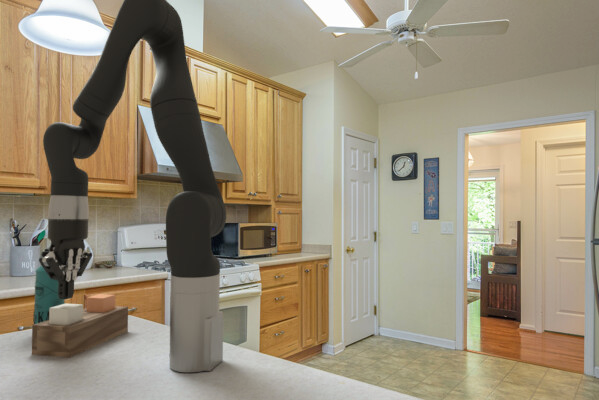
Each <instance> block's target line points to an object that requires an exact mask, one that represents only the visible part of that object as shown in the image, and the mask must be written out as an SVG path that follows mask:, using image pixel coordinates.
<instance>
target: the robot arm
mask: <svg viewBox="0 0 599 400" xmlns="http://www.w3.org/2000/svg"><path fill="white" fill-rule="evenodd" d="M141 39H142V40H143V41H145V42H146V43H148V46H149V48H150V51H151V54H152V58H153V62H154V65H155V67H154V68H155V78H154V82H153V85H152V88H151V91H150V95H149V96H150V97H149V98H150V99H149V105H150V111H151V115H152V116H151V117H152V119H153V125H154V128H155V132H156V135H157V138H158V140H159V141H160V144H161V146H162V147H163V149H164V151H165V152H166V155H168V157H169V158H170V160H171V162H172V164H173V165H174V167H175V169H176V171H177V173H178V175H179V178H180V182H181V186H182V190H183V191H182V192H179V193H177V194H176V195H174V197H173V198H172V199H171V200H170V201H169V204H168V206H167V209H166V215H165V240H166V241H165V242H166V258H167V261H168V263H169V266H170V299H169V300H170V303H169V304H170V306H169V307H170V309H169V313H170V314H169V368H170V369H171V370H172V371H175V372H180V373H197V372H210V371H212V370H214V368H216V367H217V366H218V365H219V364H220V363H221V362H222V361H223V358H224V356H223V355H224V354H223V353H224V347H223V346H224V345H223V344H224V312H223V311H222V310H221V311H220V286H221V284H220V281H221V280H220V279H221V278H220V277H221V276H220V275H221V263H220V260H219V258H217V257H216V256H215V255H214V253H213V250H212V239H211V238H213V237H216V236H217V235H219V234H220V233H221V232H222V230H223V229H224V227H225V224H226V221H227V210H226V206H225V201H224V198H223V196H222V193H221V191H220V188H219V185H218V181H217V179H216V177H215V173H214V170H213V167H212V163H211V158H210V153H209V149H208V145H207V140H206V137H205V131H204V128H203V122H202V118H201V114H200V110H199V105H198V101H197V98H196V94H195V90H194V85H193V81H192V77H191V73H190V69H189V65H188V61H187V54H186V45H185V38H184V29H183V23H182V20H181V17H180V14H179V12H178V11H177V9H176V8H175V7H174V6H173V5H171V4H170V2H168V1H167V0H123V1H122V3H121V5H120V7H119V10H118V12H117V14H116V17H115V19H114V22H113V24H112V27H111V29H110V31H109V33H108V36H107V39H106V41H105V44H104V46H103V49H102V51H101V54H100V57H99V59H98V61H97V63H96V65H95V67H94V69H93V71H92V72H91V75H90V76H89V78H88V80H87V81H86V82H85V84H84V86H83V87H82V89H81V91H80V92H79V94H78V95H77V97H76V98H75V100H74V101H73V105H72V111H73V113H74V114H76V116H78V118H80V123H79V124H78V125H74V124H71V123H68V122H63V121H62V122H61V121H55V122H53V123H51V124H50V125H48V127H47V128H46V130H45V132H44V134H43V138H42V139H43V140H42V145H43V150H44V155H45V158H46V162H47V167H48V170H49V173H50V177H51V178H50V199H49V203H48V215H47V216H48V217H47V218H48V219H47V239H48V240H49V241H50V246H49V248H48V251H49V253H48V254H47V255H46V256H45V257H42V256H40V257H39V259H38V262H39V264H40V266H41V265H42V267H43V268H44V270H45V271H46V273H47V274H48V276H49V277H50V279H54V280H57V281H58V283H59V285H58V296H59V298H60V299H65V300H69V299H72V298H73V297H74V293H75V281H76V280H77V278H78V277H82V275H83V274H84V272H85V270H86V268H87V267H88V265H89V262H90V261H91V259H92V258H93V252H88V251H87V250H86V244H85V241H84V240H86V239H88V236H89V212H90V207H89V198H88V196H89V175H88V173H87V172H86V171H85V170H83V169H81V168H79V167H78V166H77V164H76V161H75V159H77V160H85V159H89V158H90V157H92V155H94V154H95V153H96V151H97V150H98V148H99V147H100V144H101V141H102V137H103V134H104V132H105V131H104V130H105V128H106V125H107V124H106V123H107V121H108V119H109V118H110V116H111V115H112V114H113V111H115V108H116V107H117V106H118V104H119V103H120V100H121V98H122V96H123V94H124V91H125V87H126V82H127V81H126V80H127V71H128V65H129V62H130V57H131V55H132V54H133V53H132V52H133V51H134V49H135V47H136V46H137V44H138V43H139V42H140V40H141Z"/></svg>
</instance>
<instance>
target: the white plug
mask: <svg viewBox="0 0 599 400" xmlns="http://www.w3.org/2000/svg"><path fill="white" fill-rule="evenodd" d="M83 309H84V304H81V303H79V304H78V303H66V302H65V304H62V305H58V306H55V307H51V308H49V324H57V325H70V324H72V323H75V322H78V321H81V320H83Z"/></svg>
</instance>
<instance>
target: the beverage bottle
mask: <svg viewBox="0 0 599 400" xmlns="http://www.w3.org/2000/svg"><path fill="white" fill-rule="evenodd" d="M48 253H49V250H45V251H42V252H41V257H45V256H46V255H47V254H48ZM58 285H59V283H58V281H57V280H54V279H50V277H49V276H48V274H47V273H46V271H45V270H44V268H43V267H42V265H41V264H40V266H38V267H37V268H36V269H35V283H34V294H33V295H34V304H33V308H34V310H33V317H32V318H33V325H34V324H37V323H41V322H44V321H47V320H49V308H51V307H55V306H58V305H62V304H65V303H66V302H65V301H66V299H60V298H59V296H58Z"/></svg>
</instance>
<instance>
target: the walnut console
mask: <svg viewBox="0 0 599 400" xmlns="http://www.w3.org/2000/svg"><path fill="white" fill-rule="evenodd" d="M31 328H32V331H31V332H32V333H31V355H32V356H33V355H34V356H41V357H42V356H45V357H56V358H68V359H71V358H73V357H74V356H77V355H79V354H81V353H83V352H86V351H88V350H91V349H92V348H94V347H97V346H99V345H101V344H104V343H105V342H108V341H110V340H112V339H114V338H116V337H118V336H120V335H124V334H125V333H127V332H128V331H129V307H128V306H118V305H115V309H113V310H110V311H107V312H104V313H100V312H87V307H86V308H83V320H81V321H78V322H75V323H72V324H70V325H57V324H49V320H47V321H44V322H41V323H37V324H34V323H33V324H32V327H31Z"/></svg>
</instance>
